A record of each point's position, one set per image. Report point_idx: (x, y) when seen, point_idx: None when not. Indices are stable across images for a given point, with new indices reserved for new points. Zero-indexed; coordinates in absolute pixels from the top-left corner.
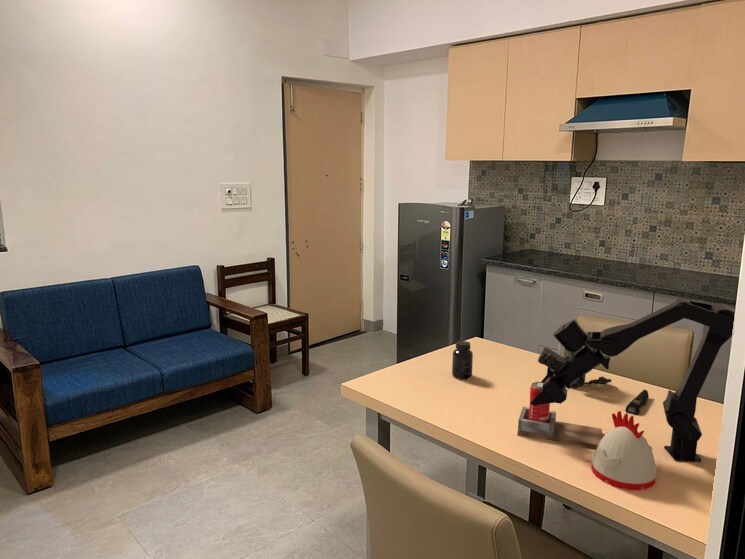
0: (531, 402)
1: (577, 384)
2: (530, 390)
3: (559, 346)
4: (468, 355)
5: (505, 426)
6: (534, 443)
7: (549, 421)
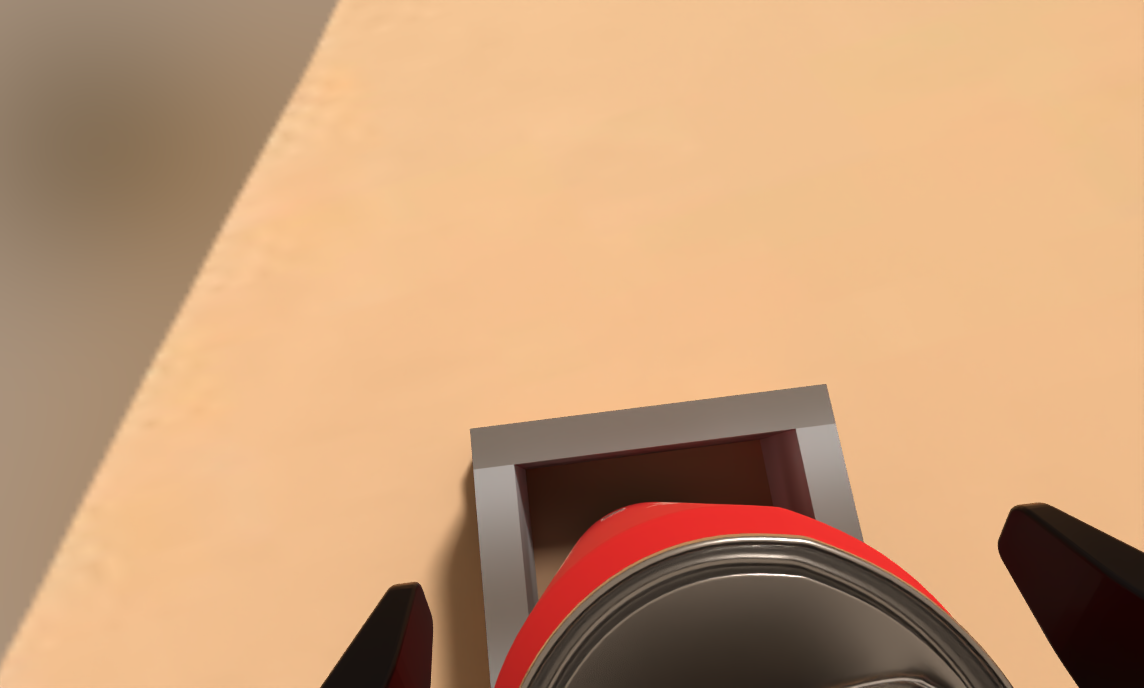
0: (380, 608)
1: None
2: (622, 528)
3: None
4: None
5: (586, 317)
6: None
7: None
